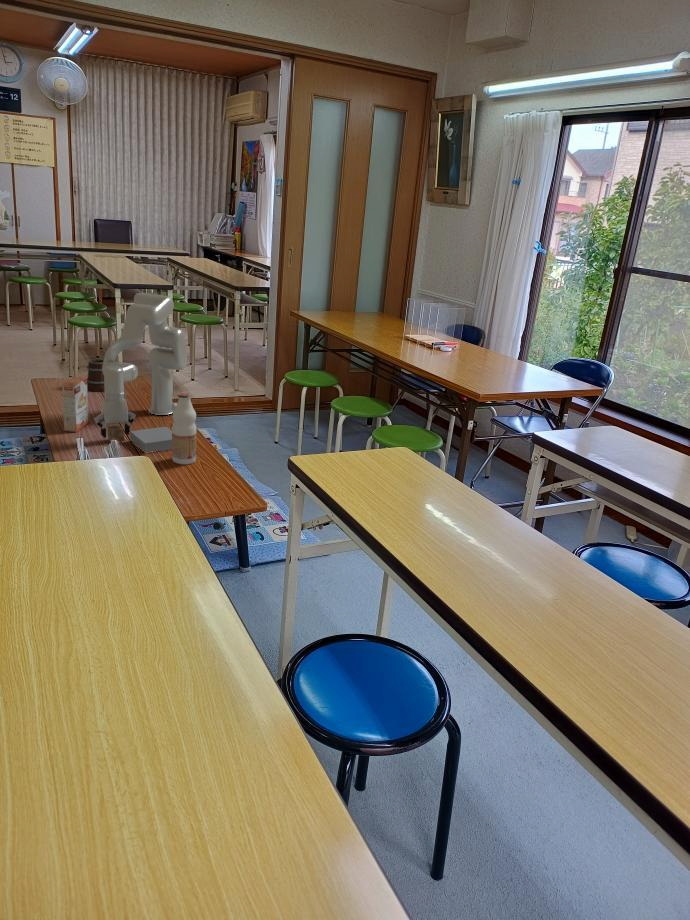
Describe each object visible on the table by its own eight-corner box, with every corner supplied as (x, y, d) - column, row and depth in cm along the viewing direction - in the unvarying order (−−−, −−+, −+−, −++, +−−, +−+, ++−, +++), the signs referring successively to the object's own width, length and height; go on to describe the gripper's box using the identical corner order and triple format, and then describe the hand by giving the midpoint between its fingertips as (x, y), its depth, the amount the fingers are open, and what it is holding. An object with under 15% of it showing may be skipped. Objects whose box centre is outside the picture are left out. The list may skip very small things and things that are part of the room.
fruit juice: (176, 466, 266) (176, 397, 256) (168, 457, 274) (168, 391, 264) (199, 463, 271) (200, 396, 261) (191, 455, 278) (191, 389, 268)
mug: (90, 392, 345) (88, 364, 340) (84, 386, 354) (82, 358, 349) (121, 390, 354) (120, 362, 348) (114, 384, 363) (113, 357, 357)
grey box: (166, 437, 296) (166, 426, 295) (181, 449, 285) (181, 438, 283) (130, 442, 287) (130, 431, 285) (145, 454, 275) (145, 443, 274)
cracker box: (77, 432, 291) (74, 385, 283) (63, 431, 291) (60, 384, 283) (89, 422, 304) (87, 377, 296) (76, 421, 304) (73, 376, 296)
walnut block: (119, 438, 289) (119, 425, 287) (124, 442, 286) (123, 428, 284) (108, 439, 286) (107, 426, 284) (112, 443, 283) (111, 430, 281)
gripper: (131, 391, 287) (132, 430, 293) (90, 395, 276) (91, 435, 282) (138, 396, 281) (139, 435, 287) (96, 400, 271) (98, 440, 277)
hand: (115, 435), depth 285 cm, fingers open, 9 cm apart
